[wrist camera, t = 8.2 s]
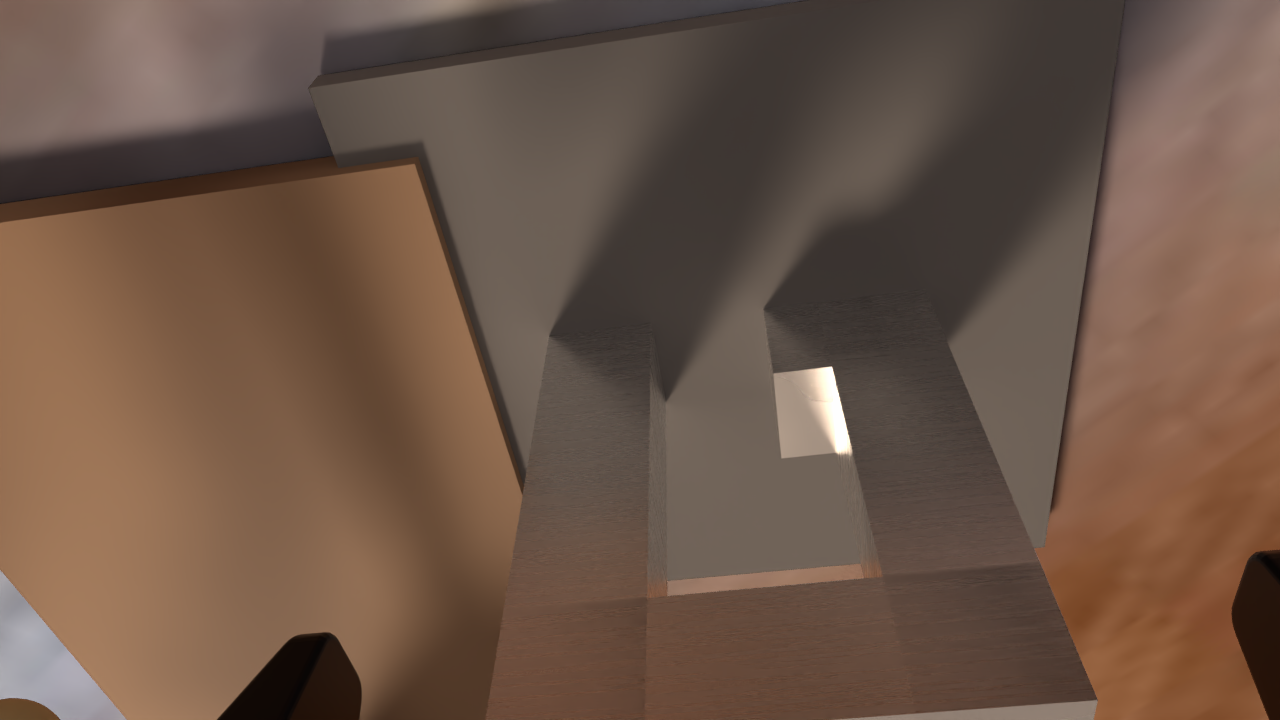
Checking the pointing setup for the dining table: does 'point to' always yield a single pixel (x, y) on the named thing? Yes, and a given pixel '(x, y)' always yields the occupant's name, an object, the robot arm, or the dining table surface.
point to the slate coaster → (766, 221)
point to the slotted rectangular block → (792, 614)
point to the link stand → (252, 439)
